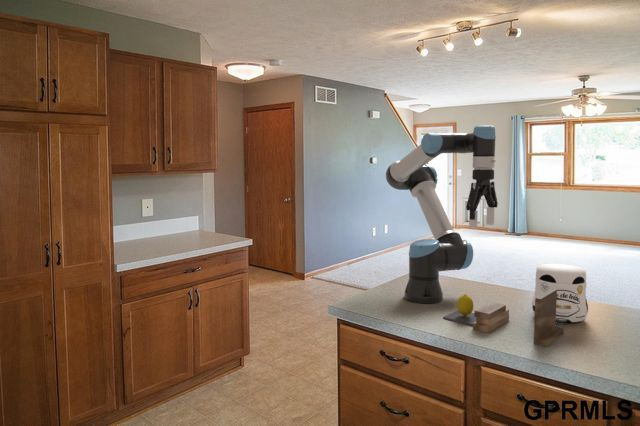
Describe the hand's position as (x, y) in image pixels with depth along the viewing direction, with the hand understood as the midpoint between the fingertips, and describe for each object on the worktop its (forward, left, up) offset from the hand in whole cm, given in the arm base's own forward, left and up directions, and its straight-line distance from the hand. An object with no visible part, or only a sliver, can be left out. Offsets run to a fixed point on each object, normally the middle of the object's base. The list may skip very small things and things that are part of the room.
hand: (481, 226), depth 175 cm
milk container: (+26, +6, -31) cm, 41 cm away
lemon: (+2, -15, -30) cm, 34 cm away
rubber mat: (+2, -15, -31) cm, 34 cm away
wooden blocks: (+21, -15, -31) cm, 40 cm away
